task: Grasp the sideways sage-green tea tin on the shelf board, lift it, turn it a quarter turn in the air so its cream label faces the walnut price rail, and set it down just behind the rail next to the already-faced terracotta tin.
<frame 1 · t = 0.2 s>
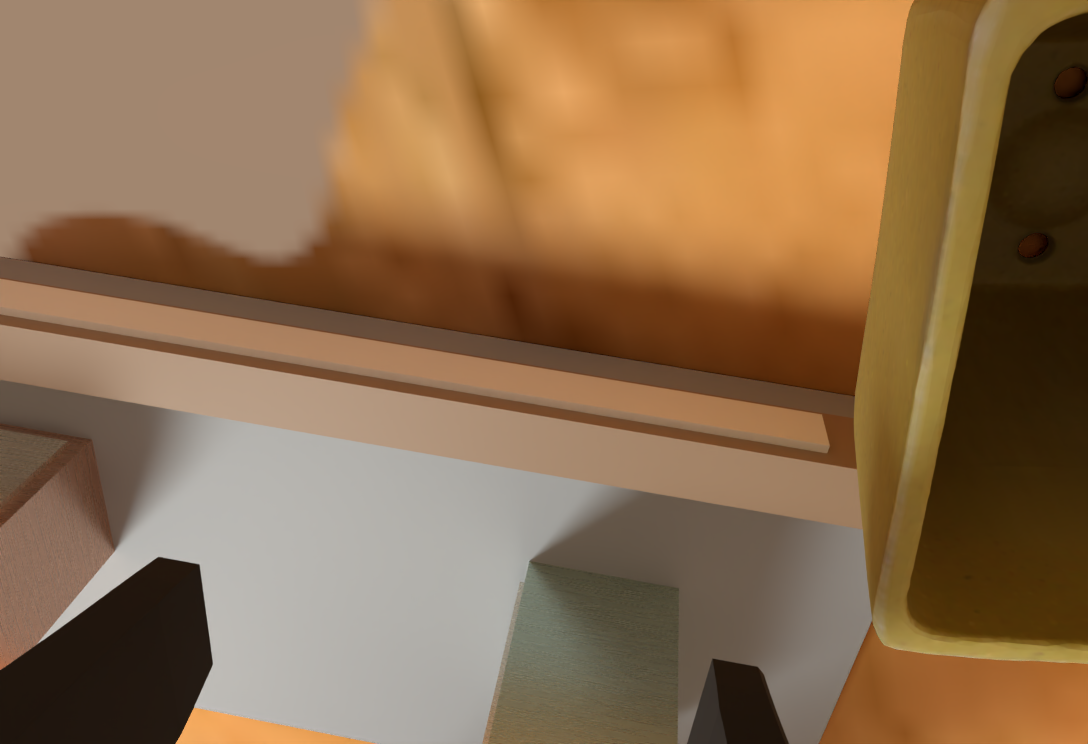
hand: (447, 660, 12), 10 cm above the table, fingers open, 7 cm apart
shelf: (326, 538, 25), on the table
sage tin: (588, 651, 24), point 1 cm above the table, touching shelf
terracotta tin: (2, 479, 24), point 1 cm above the table, touching shelf
flower pot: (1041, 154, 17), on the table
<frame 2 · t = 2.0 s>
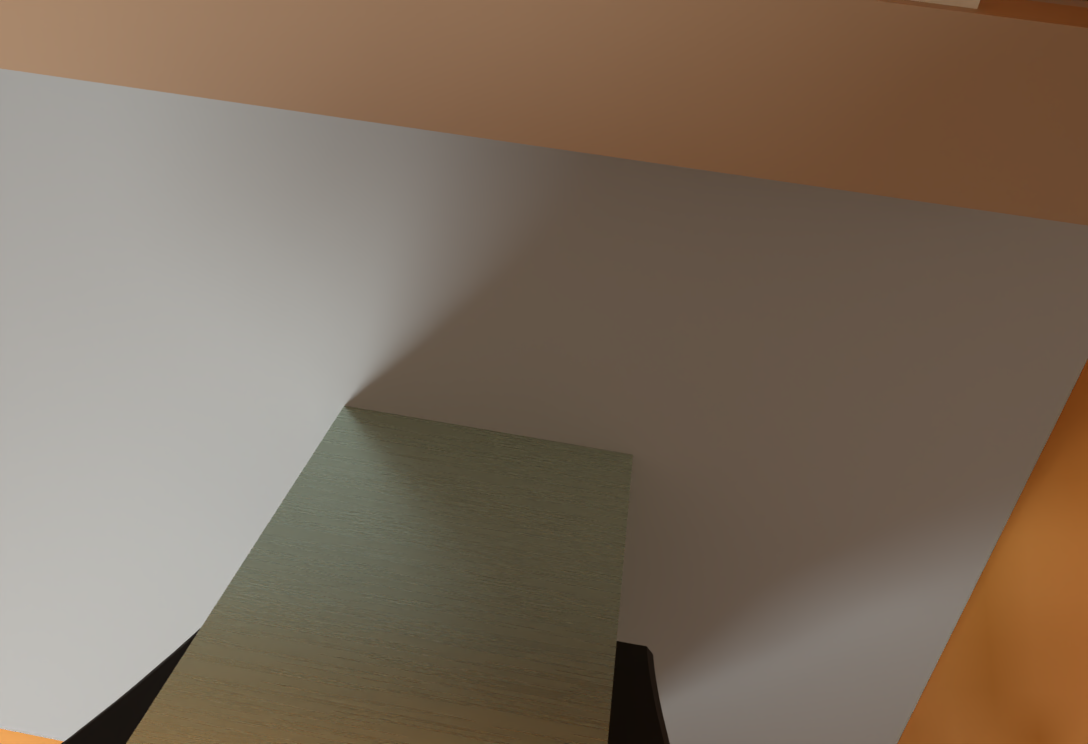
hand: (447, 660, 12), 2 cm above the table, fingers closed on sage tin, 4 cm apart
shelf: (2, 388, 14), on the table
sage tin: (473, 590, 13), point 1 cm above the table, touching gripper, shelf
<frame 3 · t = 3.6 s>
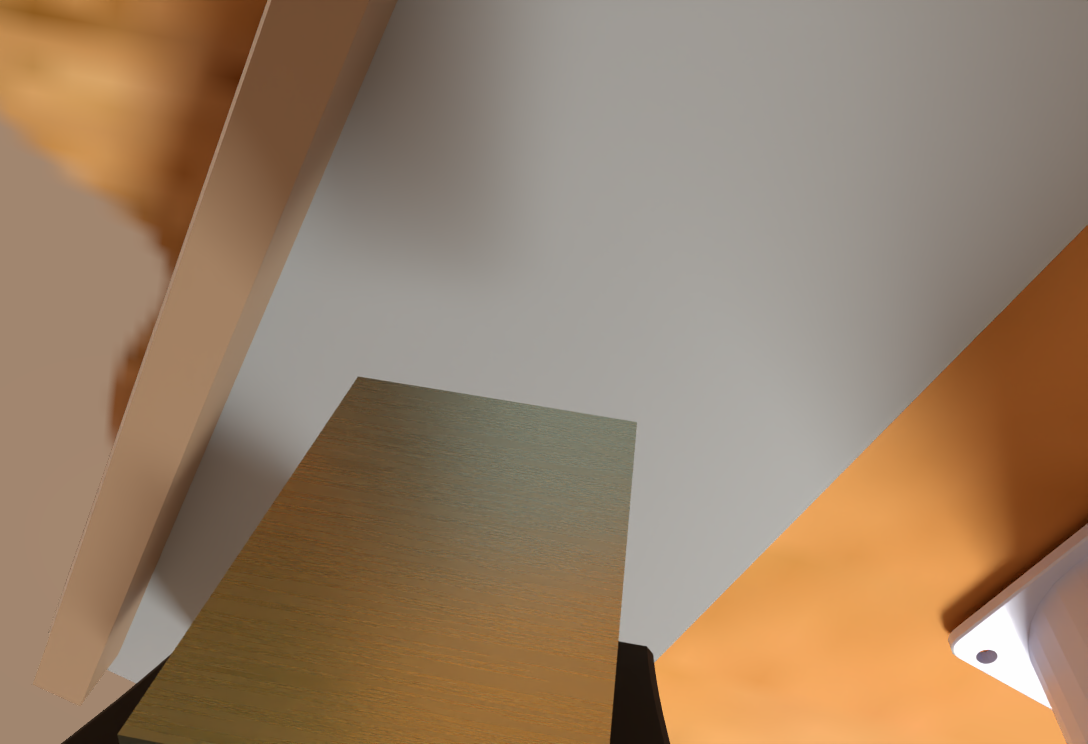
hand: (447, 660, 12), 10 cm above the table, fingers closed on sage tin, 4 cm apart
shelf: (488, 422, 22), on the table
sage tin: (481, 559, 14), point 8 cm above the table, touching gripper
when the fingers open (4 cm above the table, at t = 5.4 s): sage tin stays where it is, resting on shelf.
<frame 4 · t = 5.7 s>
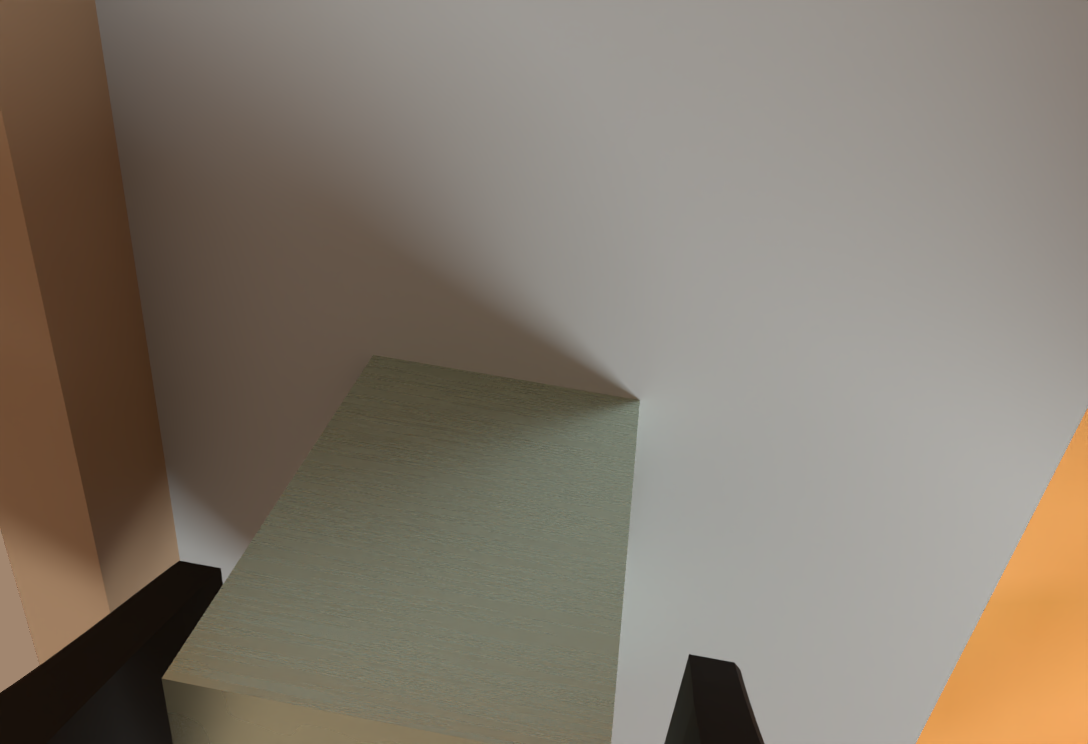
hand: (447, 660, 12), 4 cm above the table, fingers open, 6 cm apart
shelf: (518, 547, 16), on the table
sage tin: (489, 532, 14), point 1 cm above the table, touching shelf
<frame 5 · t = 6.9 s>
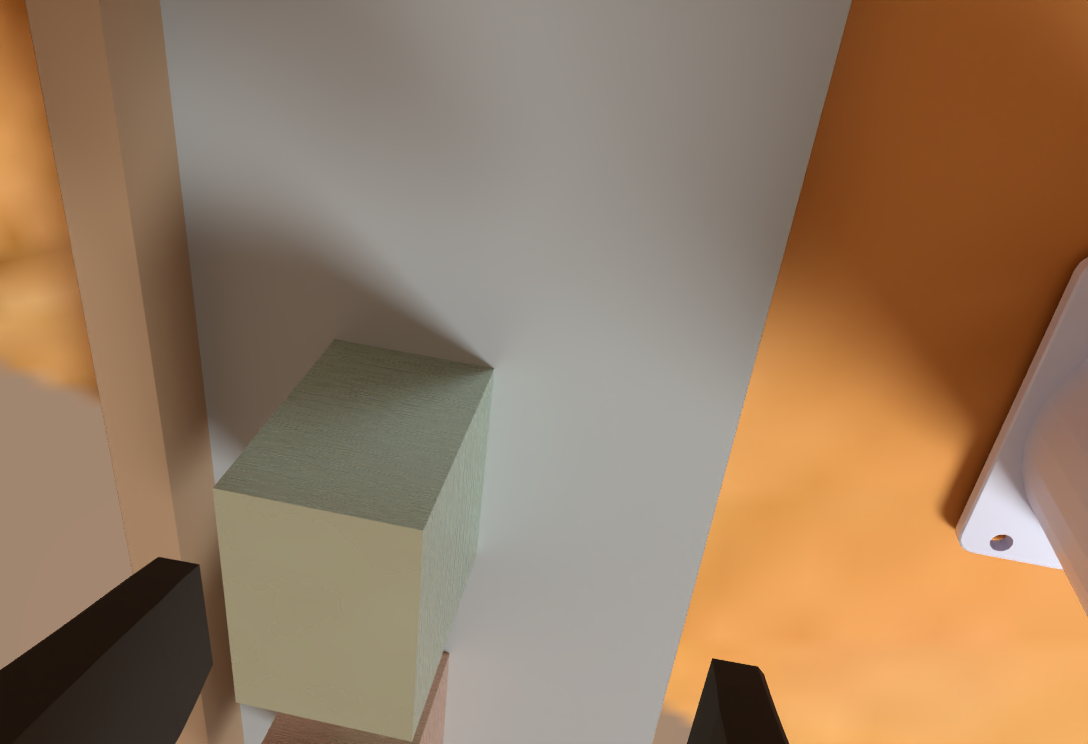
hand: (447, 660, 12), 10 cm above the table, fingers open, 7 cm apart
shelf: (434, 468, 24), on the table
sage tin: (409, 453, 22), point 1 cm above the table, touching shelf
terracotta tin: (384, 704, 27), point 1 cm above the table, touching shelf
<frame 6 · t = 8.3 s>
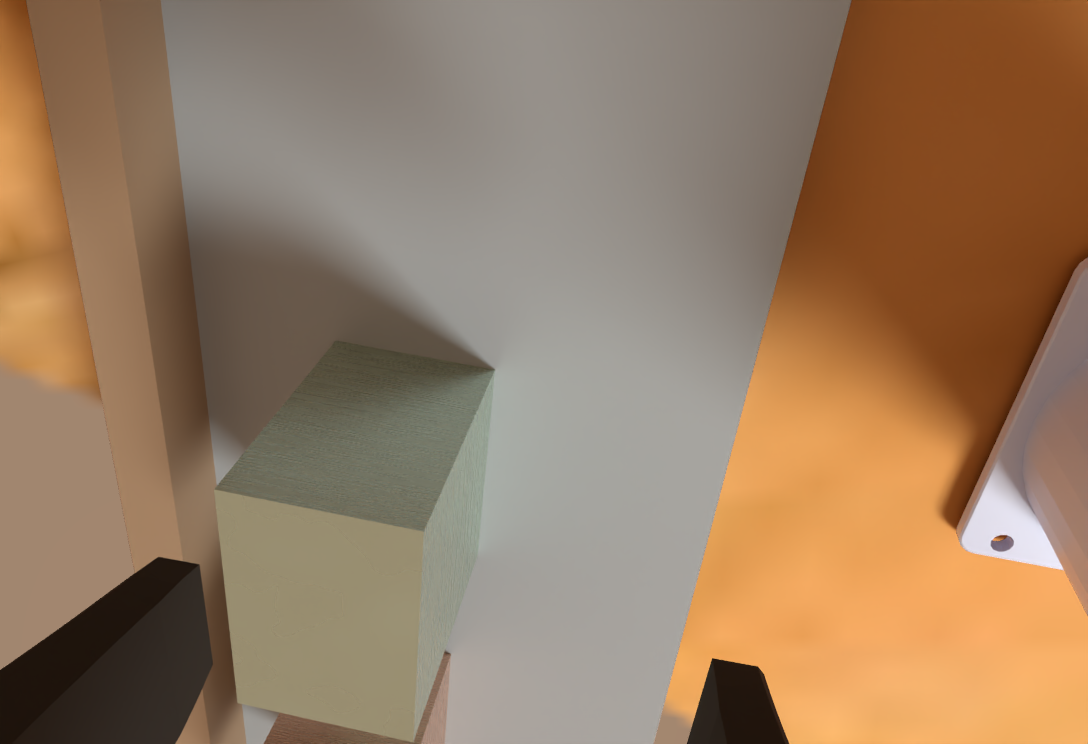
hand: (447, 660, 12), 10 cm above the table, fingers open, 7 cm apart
shelf: (435, 469, 24), on the table
sage tin: (410, 454, 22), point 1 cm above the table, touching shelf
terracotta tin: (386, 705, 27), point 1 cm above the table, touching shelf
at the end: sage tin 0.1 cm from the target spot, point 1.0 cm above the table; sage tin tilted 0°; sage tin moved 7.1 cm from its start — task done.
